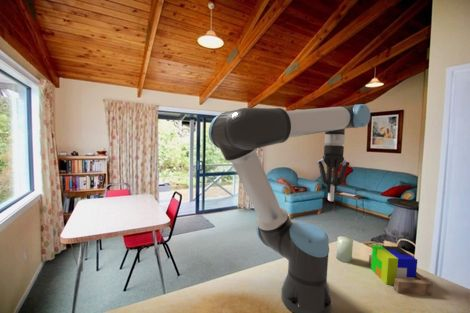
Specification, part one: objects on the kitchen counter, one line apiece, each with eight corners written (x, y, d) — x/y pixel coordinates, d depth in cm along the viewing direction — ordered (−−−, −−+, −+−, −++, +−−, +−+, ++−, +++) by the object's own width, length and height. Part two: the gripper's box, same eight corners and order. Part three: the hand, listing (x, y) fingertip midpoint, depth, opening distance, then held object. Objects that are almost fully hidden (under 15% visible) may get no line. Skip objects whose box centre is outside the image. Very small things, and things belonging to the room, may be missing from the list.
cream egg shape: (339, 262, 93) (341, 241, 93) (334, 255, 99) (335, 236, 99) (354, 263, 93) (355, 242, 92) (347, 256, 99) (349, 236, 98)
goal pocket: (397, 293, 75) (398, 281, 74) (368, 264, 93) (369, 255, 92) (431, 295, 74) (432, 284, 74) (395, 265, 92) (396, 256, 92)
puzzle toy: (415, 286, 79) (417, 259, 78) (386, 284, 79) (388, 258, 79) (396, 270, 89) (398, 246, 88) (370, 269, 89) (372, 245, 89)
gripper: (321, 144, 88) (317, 202, 90) (354, 145, 87) (350, 203, 89) (315, 144, 96) (312, 197, 97) (345, 145, 95) (342, 198, 96)
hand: (330, 200), depth 93 cm, fingers closed
